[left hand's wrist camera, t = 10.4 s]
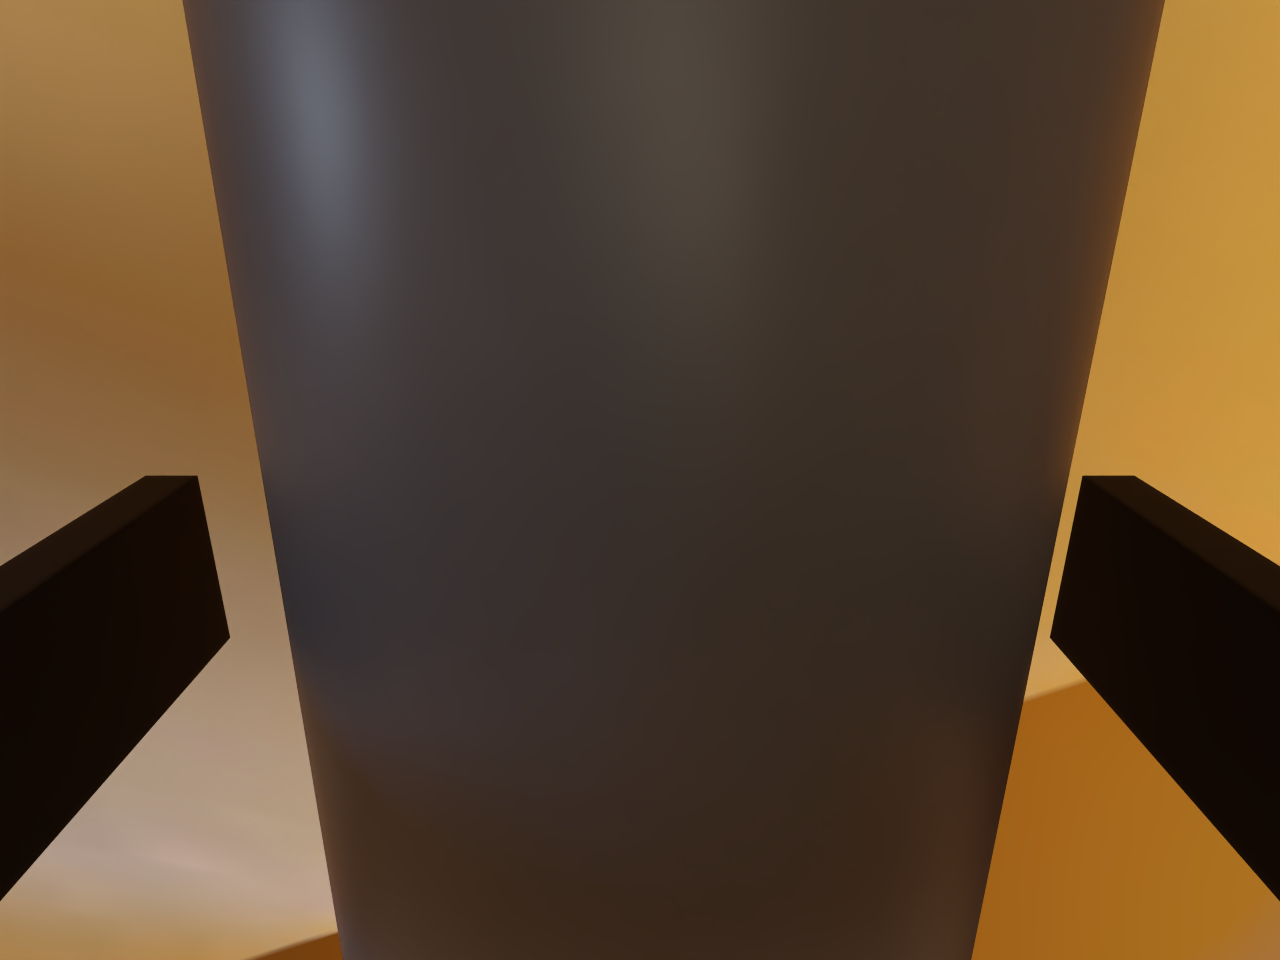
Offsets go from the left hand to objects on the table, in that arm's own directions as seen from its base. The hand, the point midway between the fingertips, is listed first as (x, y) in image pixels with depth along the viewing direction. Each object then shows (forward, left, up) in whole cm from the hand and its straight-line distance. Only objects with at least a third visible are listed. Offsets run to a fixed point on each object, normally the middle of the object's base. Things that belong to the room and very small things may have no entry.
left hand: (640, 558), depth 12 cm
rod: (+6, +6, -2) cm, 9 cm away
